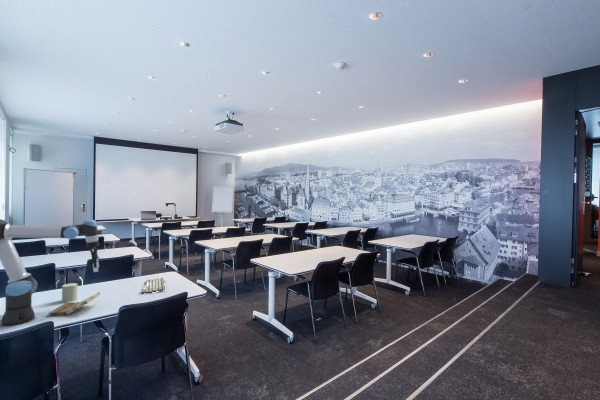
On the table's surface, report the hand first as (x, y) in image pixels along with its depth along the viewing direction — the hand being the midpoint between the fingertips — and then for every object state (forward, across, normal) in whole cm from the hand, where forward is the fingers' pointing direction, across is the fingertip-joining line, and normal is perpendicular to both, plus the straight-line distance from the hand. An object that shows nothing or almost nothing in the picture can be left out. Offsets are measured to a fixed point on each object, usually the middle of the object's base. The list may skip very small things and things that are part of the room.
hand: (96, 269), depth 213 cm
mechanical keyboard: (+30, +22, -37) cm, 53 cm away
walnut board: (+22, -8, +20) cm, 31 cm away
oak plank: (+19, -12, +8) cm, 24 cm away
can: (+22, +15, +20) cm, 33 cm away
